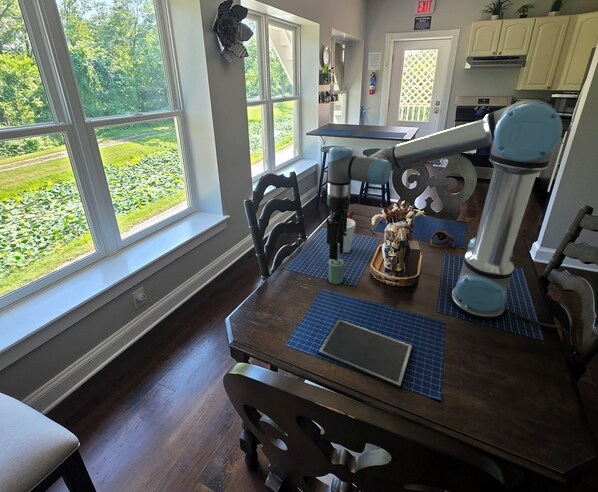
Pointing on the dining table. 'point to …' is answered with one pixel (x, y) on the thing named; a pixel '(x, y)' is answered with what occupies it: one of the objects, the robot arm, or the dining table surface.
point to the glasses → (360, 215)
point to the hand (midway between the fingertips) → (336, 255)
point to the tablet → (367, 352)
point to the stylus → (336, 262)
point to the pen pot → (336, 272)
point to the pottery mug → (442, 236)
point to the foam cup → (348, 235)
